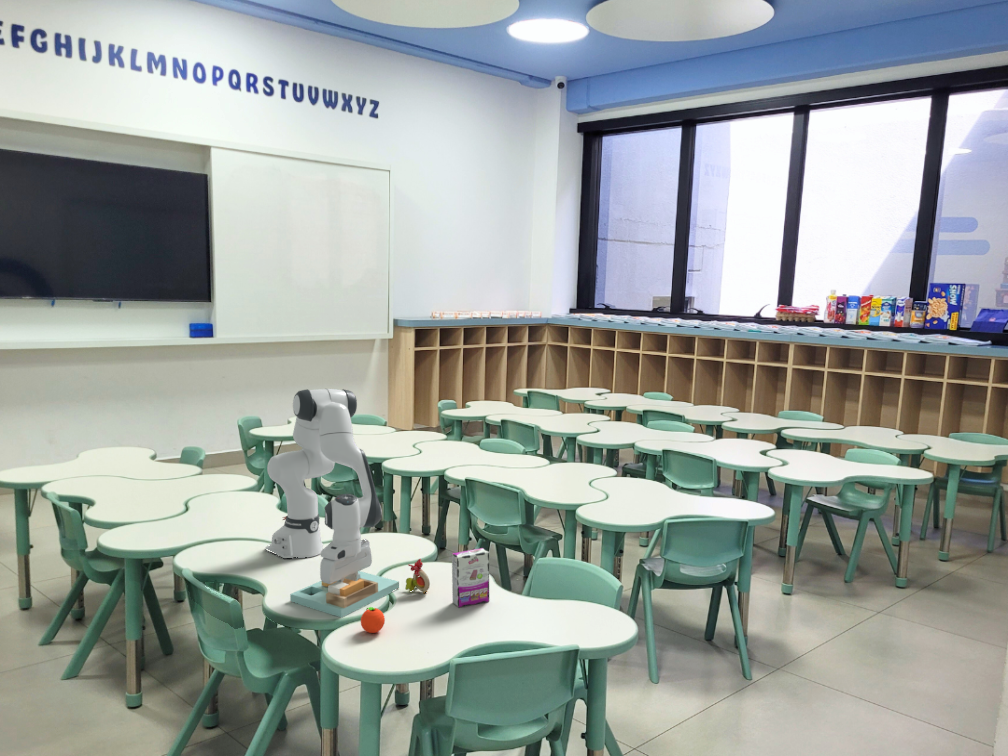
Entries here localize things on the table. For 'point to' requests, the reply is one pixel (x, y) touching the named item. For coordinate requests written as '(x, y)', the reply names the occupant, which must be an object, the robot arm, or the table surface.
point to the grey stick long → (350, 577)
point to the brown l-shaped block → (353, 595)
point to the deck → (317, 600)
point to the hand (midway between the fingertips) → (347, 587)
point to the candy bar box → (470, 577)
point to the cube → (336, 587)
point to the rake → (349, 586)
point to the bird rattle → (418, 578)
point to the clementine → (372, 620)
